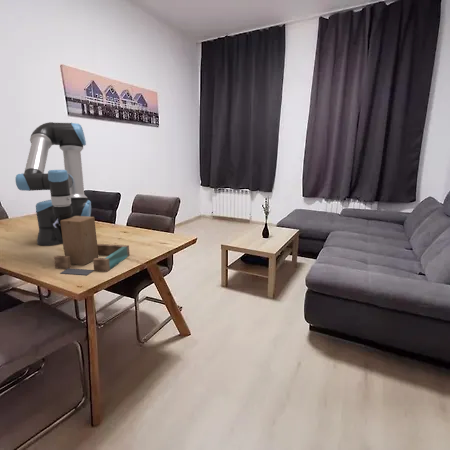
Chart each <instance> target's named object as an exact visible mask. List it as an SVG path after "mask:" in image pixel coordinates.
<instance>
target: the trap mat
mask: <svg viewBox="0 0 450 450" xmlns="http://www.w3.org/2000/svg"><path fill="white" fill-rule="evenodd" d="M93 272H94V269H84V268H82V269H81V268H73V267H71V268H68V269H63V271H61V272H60V273H59V274H60V275H61V274H63V275H74V276H88V275H90V274H92V273H93Z"/></svg>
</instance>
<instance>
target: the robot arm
mask: <svg viewBox="0 0 450 450" xmlns="http://www.w3.org/2000/svg"><path fill="white" fill-rule="evenodd" d="M29 141H30V148H29V152H28V156H27V160H26V164H25V168H24V172H22V173H18V174H16V175H15V184H16V187H17V189H18V190H19V191H25V192H26V191H28V192H29V191H49V192H50V199H47V200H43V201H39V202H37V203H36V204H35V213H36V218H37V225H38V233H37V237H36V242H37V243H36V244H37V245H38V246H42V247H43V246H57V245H60V244H62V248H63V250H64V245H63V238H62V231H61V224H60V221H61V220H63V219H67V218H70V217H73V216H89V217H92V216H91V214H92V201H91V200H89V199H88V196H86V194H85V188H84V176H83V175H84V174H83V163H82V154H81V152H82V151H83V150H84V146H87V141H86V137H85V133H84V130H83V127H82V125H81V124H80V123H76V122H75V123H73V122H51V121H50V122H45V123H42V124H41V125H39V126H37V127H36V128H35V129H34V130H33V131H32V133H31V135H30V139H29ZM52 146H58V147H59V149H60V150H61V151H62V155H63V165H64V169H48V171H47V173H45V169H46V165H47V161H48V160H47V159H48V153H49V149H51V148H52Z"/></svg>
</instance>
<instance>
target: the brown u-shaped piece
mask: <svg viewBox="0 0 450 450" xmlns="http://www.w3.org/2000/svg"><path fill="white" fill-rule="evenodd" d="M97 246H98V256H106V257H105V258H104V257H98V258H95V259H93V261H92V262H93V263H92V265H93V270H94V271H96V272H109V271H110V270H111V269H113V268H114V267H116V266H117V265H118V264H120V263H121V262H123V261H125V259H127V258H128V257H129V256H130V245H128V244H127V245H126V244H125V245H123V244H110V243H109V244H107V243H106V244H104V243H97ZM53 258H54V259H53V260H54V266H55V269H63V270H66V269H68V268H72V264H71V261H70V256H65V255H56V256H54V257H53ZM94 271H93V272H94Z"/></svg>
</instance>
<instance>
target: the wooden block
mask: <svg viewBox="0 0 450 450" xmlns="http://www.w3.org/2000/svg"><path fill="white" fill-rule="evenodd" d="M60 224H61V231H62V238H63V243H62V246H63V245H64V249H63V251H64V256H70V261H71V265H79V266H81V265H82V266H86V265H87V264H89V263H91V262H93V259H95V258H100V257H99V256H100V255H98V246H97V244H98V239H97V231H96V230H97V229H96V220H95V216H90V217H89V216H73V217H70V218H67V219H63V220H61V221H60Z"/></svg>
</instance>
